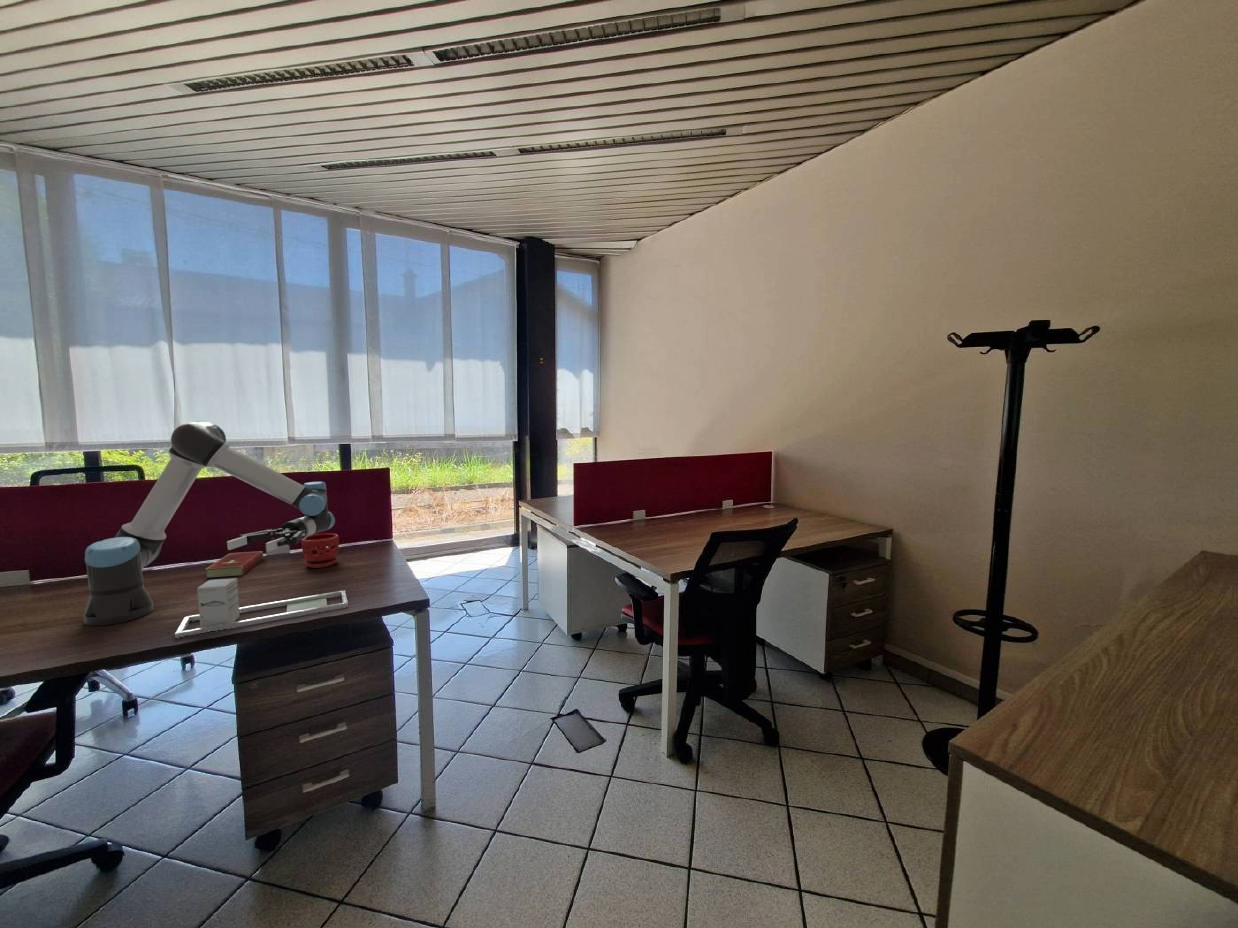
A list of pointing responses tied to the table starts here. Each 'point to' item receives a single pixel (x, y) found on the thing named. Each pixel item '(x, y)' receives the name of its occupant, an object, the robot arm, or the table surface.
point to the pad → (306, 605)
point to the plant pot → (320, 550)
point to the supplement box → (218, 602)
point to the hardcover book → (234, 564)
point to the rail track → (187, 619)
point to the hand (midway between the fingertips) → (247, 546)
